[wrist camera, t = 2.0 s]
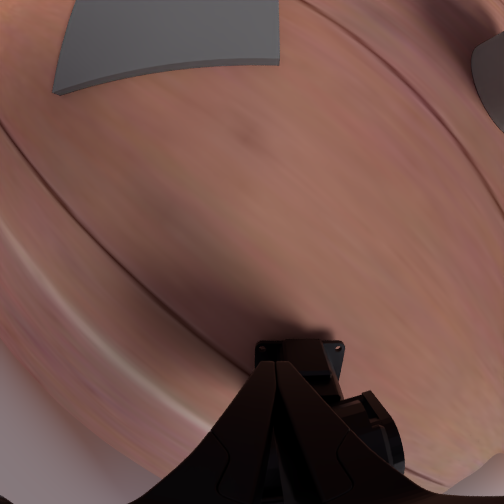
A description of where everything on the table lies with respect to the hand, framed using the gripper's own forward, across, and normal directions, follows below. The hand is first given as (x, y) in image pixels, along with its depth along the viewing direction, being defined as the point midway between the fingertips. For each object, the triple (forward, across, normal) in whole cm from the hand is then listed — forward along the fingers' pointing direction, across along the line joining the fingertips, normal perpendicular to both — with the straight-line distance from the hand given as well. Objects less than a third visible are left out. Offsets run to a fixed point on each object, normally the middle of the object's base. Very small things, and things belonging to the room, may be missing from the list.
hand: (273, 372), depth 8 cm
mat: (+13, +8, -19) cm, 25 cm away
